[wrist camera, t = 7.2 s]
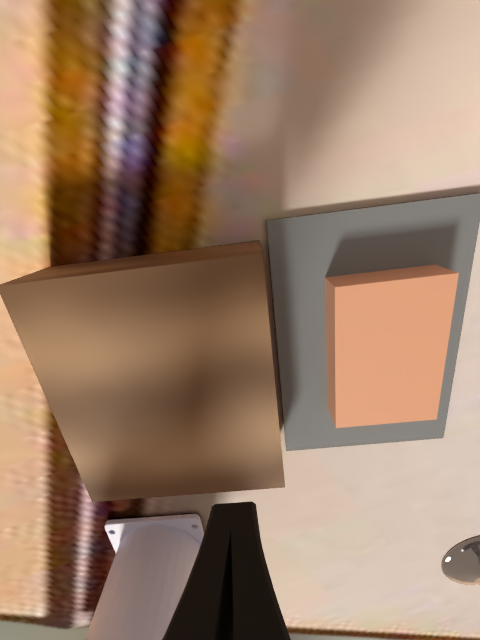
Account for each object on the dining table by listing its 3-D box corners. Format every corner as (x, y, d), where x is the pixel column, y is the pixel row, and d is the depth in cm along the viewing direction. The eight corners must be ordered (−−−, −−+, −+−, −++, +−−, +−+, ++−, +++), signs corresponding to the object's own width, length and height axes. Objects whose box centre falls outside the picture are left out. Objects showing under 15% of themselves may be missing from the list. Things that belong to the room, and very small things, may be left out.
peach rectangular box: (335, 428, 18) (327, 407, 20) (436, 419, 18) (418, 398, 20) (334, 287, 15) (324, 277, 17) (458, 272, 15) (435, 264, 17)
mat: (440, 434, 21) (443, 437, 21) (285, 447, 22) (286, 450, 22) (480, 192, 15) (484, 193, 15) (266, 220, 16) (266, 220, 16)
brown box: (278, 437, 22) (285, 487, 18) (117, 451, 22) (92, 501, 19) (258, 240, 17) (262, 253, 13) (49, 266, 17) (-4, 285, 14)
